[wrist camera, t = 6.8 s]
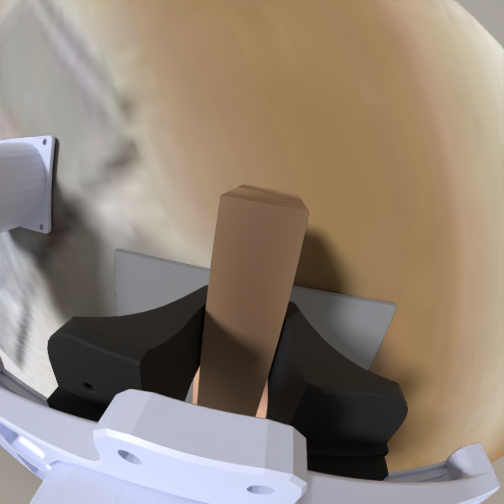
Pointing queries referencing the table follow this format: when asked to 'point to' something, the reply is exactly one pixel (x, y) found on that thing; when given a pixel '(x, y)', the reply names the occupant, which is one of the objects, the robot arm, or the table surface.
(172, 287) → the mat
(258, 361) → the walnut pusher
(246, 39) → the table surface
